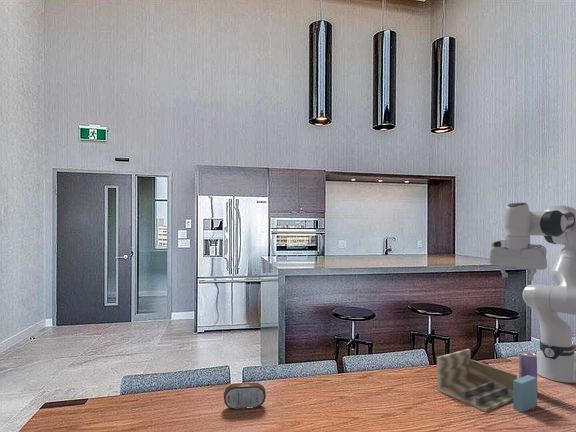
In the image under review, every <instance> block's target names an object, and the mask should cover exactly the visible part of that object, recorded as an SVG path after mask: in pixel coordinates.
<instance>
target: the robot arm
mask: <svg viewBox="0 0 576 432" xmlns="http://www.w3.org/2000/svg"><path fill="white" fill-rule="evenodd" d="M503 214H504V216H503V226H504V234H503V238H502V239H499V240H494V241H492V242H491V249H490V250H489V251H490V252H489V263H490V264H491V266H498V269H499V271H500V272H501V278H509V273H508V272H506V270H505V269H506V267H509V268H510V267H511V268H519V269H529V272H530V274H529V275H526V280H527V281H528V282H529V281H530V282H531V281H534V276H535V275H536V274H537V270H543V271H544V270H546V269H547V268H548V259H547V248H546V247H545V246H543V245H542V244H533V243H532V244H531V236H539V237H540V236H541V237H542V236H543V237H544V239H545V241H546V242H547V243H548V244H552V245H562V246H564V247H563V248H562V249H561V250H560V252H558V255H557V256H556V258H555V261H554V262H553V266H552V267H551V269H550V277H551V280H553V282H554V283H556V284H557V285H551V284H550V285H548V284H543V283H541V284H540V283H536V284H534V283H533V284H528V285H526V286H525V287H524V288H523V290H522V299H523V301H524V303H525V304H526V305H527V306H528V307H529V308H531V310H532V311H533V312H534V313H535V315H536V318H537V319H538V324H539V328H540V329H539V331H540V340H539V344H538V345H539V350H538V351H536V357H537V375H539V376H541V377H543V378H545V379H548V380H550V381H556V382H559V383H560V382H561V383H571V384H572V383H573V384H576V354H575V350H576V344H575V343H574V344H573V332H572V331H573V330H572V328H571V326H570V325H569V323H567V322H566V321H565V320H563V319H561V317H560V316H559V315H558V313H561V314H562V313H563V314H568V315H575V316H576V209H575V208H574V207H572V206H568V205H553V206H549V207H547V208H544V210H542V211H531V210H530V207H529V204H528V203H526V202H512V203H509V204H507V205H506V206H505V209H504V213H503Z"/></svg>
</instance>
